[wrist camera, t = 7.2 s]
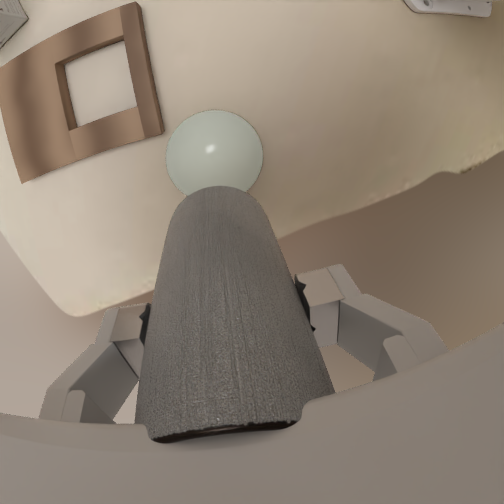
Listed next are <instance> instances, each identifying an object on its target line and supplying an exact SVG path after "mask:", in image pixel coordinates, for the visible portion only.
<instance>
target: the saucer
mask: <svg viewBox="0 0 504 504" xmlns="http://www.w3.org/2000/svg"><path fill="white" fill-rule="evenodd" d="M262 162H263V149H262V145H261V141H260V139H259V136H258V135H257V133H256V131H255V130H254V129H253V127H252V126H251V125H250V124H249V123H248V122H247V121H246V120H244V119H243V118H242V117H240V116H238V115H236V114H234V113H231V112H228V111H223V110H207V111H203V112H199V113H197V114H194V115H192V116H190V117H189V118H187V119H186V120H185V121H183V122H182V123H181V124H180V125H179V126H178V127H177V128H176V130H175V131H174V132H173V134H172V136H171V138H170V140H169V142H168V145H167V149H166V166H167V171H168V174H169V176H170V178H171V180H172V182H173V183H174V185H175V186H176V187H177V188H178V189H179V190H180V191H181V192H182V193H183V194H185V195H186V196H189V195H190V194H192V193H194V192H195V191H198V190H200V189H202V188H206V187H211V186H229V187H234V188H237V189H240V190H242V191H244V192H246V191H247V190H248V189H249V188H250V187H251V186H252V185H253V184H254V182H255V181H256V179H257V177H258V175H259V173H260V170H261V167H262Z"/></svg>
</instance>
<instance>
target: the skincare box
mask: <svg viewBox="0 0 504 504" xmlns="http://www.w3.org/2000/svg"><path fill="white" fill-rule="evenodd" d="M27 20H28V18H27V16H26V14H25V13H24V11H23V9H22V7H21V5H20V3H19V1H18V0H0V48H1V46H2V45H3V44H4V43H5V42H6V41H7V40H8V39H9V38H10V37H11V36H12V35H13V34H14V33H15V32H16V31H17V30H18V29H19V28H20V27H21V26H22V25H23V24H24V23H25V22H26V21H27Z"/></svg>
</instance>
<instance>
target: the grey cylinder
mask: <svg viewBox="0 0 504 504" xmlns="http://www.w3.org/2000/svg"><path fill="white" fill-rule="evenodd" d="M334 393H335V390H334V388H333V385H332V382H331V379H330V377H329V374H328V371H327V368H326V366H325V363H324V361H323V358H322V355H321V352H320V350H319V347H318V344H317V341H316V339H315V336H314V334H313V331H312V328H311V326H310V323H309V320H308V318H307V315H306V313H305V310H304V307H303V305H302V302H301V300H300V297H299V295H298V292H297V289H296V287H295V284H294V282H293V279H292V277H291V274H290V272H289V269H288V267H287V264H286V262H285V259H284V257H283V254H282V252H281V249H280V247H279V245H278V242H277V239H276V237H275V234H274V232H273V230H272V227H271V225H270V222H269V220H268V218H267V215H266V214H265V212H264V210H263V208H262V207H261V205H260V204H259V203H258V202H257V201H256V200H255V199H254V198H253V197H252V196H251V195H249V194H248V193H246V192H244V191H242V190H240V189H237V188H234V187H229V186H211V187H206V188H202V189H200V190H198V191H195V192H194V193H192V194H190V195H189V196H187V197H186V198H185V199H184V200H183V201H182V202H181V203H180V204H179V205H178V207H177V208H176V210H175V212H174V214H173V216H172V219H171V221H170V224H169V228H168V232H167V236H166V240H165V244H164V249H163V253H162V257H161V262H160V266H159V271H158V275H157V280H156V285H155V290H154V295H153V301H152V305H151V310H150V316H149V321H148V327H147V333H146V339H145V345H144V351H143V358H142V365H141V372H140V379H139V387H138V395H137V404H136V413H135V424H143V425H144V426H145V427H146V429H147V432H148V437H149V439H151V440H152V441H154V442H157V443H163V444H168V443H175V442H180V441H185V440H190V439H195V438H202V437H209V436H216V435H224V434H234V433H244V432H257V431H273V430H281V429H285V428H288V427H290V426H292V425H294V424H296V423H297V422H298V421H299V420H300V419H301V417H302V409H303V407H304V405H305V404H306V403H307V402H308V401H310V400H312V399H316V398H319V397H323V396H327V395H331V394H334Z"/></svg>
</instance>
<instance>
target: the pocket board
mask: <svg viewBox="0 0 504 504" xmlns="http://www.w3.org/2000/svg"><path fill="white" fill-rule="evenodd" d="M122 40H124V41H125V47H126V52H127V58H128V63H129V68H130V73H131V78H132V83H133V88H134V93H135V97H136V102H137V106H138V107H134V108H131V109H128V110H125V111H122V112H119V113H116V114H113V115H110V116H107V117H104V118H102V119H99V120H96V121H93V122H91V123H88V124H86V125H83V126H80V127H78V128H77V124H76V120H75V116H74V112H73V108H72V104H71V99H70V95H69V90H68V85H67V80H66V75H65V69H64V64H66V63H68V62H70V61H72V60H74V59H76V58H79V57H81V56H83V55H86V54H88V53H90V52H93V51H95V50H98V49H100V48H103V47H105V46H108V45H111V44H114V43H116V42H119V41H122ZM0 107H1V112H2V117H3V121H4V126H5V130H6V134H7V138H8V141H9V145H10V149H11V152H12V156H13V159H14V162H15V165H16V169H17V172H18V175H19V178H20V181H21V183H22V184H23V183H25V182H27V181H29V180H31V179H34V178H36V177H38V176H41V175H43V174H45V173H48V172H50V171H52V170H55V169H57V168H60V167H62V166H65V165H67V164H70V163H73V162H75V161H78V160H81V159H83V158H86V157H89V156H92V155H94V154H97V153H100V152H103V151H106V150H109V149H112V148H115V147H119V146H122V145H125V144H128V143H132V142H135V141H138V140H142V139H145V138H149V137H152V136H156V135H160V134H162V133H163V132H164V131H165V130H164V125H163V121H162V117H161V112H160V107H159V103H158V98H157V93H156V89H155V84H154V79H153V74H152V69H151V64H150V58H149V53H148V48H147V42H146V36H145V31H144V25H143V19H142V12H141V7H140V6H139V4H138V3H137V2H132V3H129V4H126V5H123V6H120V7H118V8H115V9H112V10H109V11H107V12H104V13H102V14H99V15H97V16H94V17H92V18H89V19H87V20H85V21H82V22H80V23H78V24H76V25H74V26H72V27H69V28H67V29H65V30H63V31H61V32H59V33H57V34H55V35H53V36H51V37H50V38H48V39H46V40H44V41H42V42H40V43H39V44H37V45H35V46H33V47H32V48H30V49H28V50H27V51H25V52H23V53H22V54H20V55H19V56H17V57H15V58H14V59H12V60H11V61H9V62H8V63H6V64H5V65H3V66H2V67H1V68H0Z"/></svg>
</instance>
